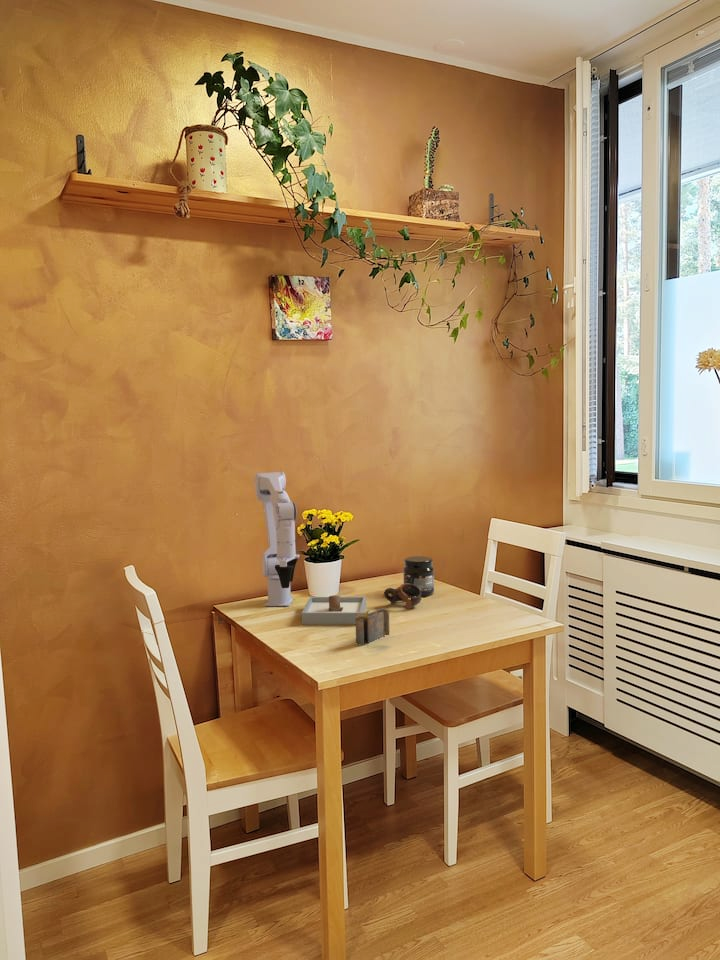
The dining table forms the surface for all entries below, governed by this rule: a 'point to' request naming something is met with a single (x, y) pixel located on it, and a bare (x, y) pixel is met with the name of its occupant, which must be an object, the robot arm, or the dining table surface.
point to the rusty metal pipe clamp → (403, 595)
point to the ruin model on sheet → (372, 626)
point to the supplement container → (419, 575)
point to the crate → (320, 615)
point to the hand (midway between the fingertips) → (287, 584)
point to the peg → (334, 603)
